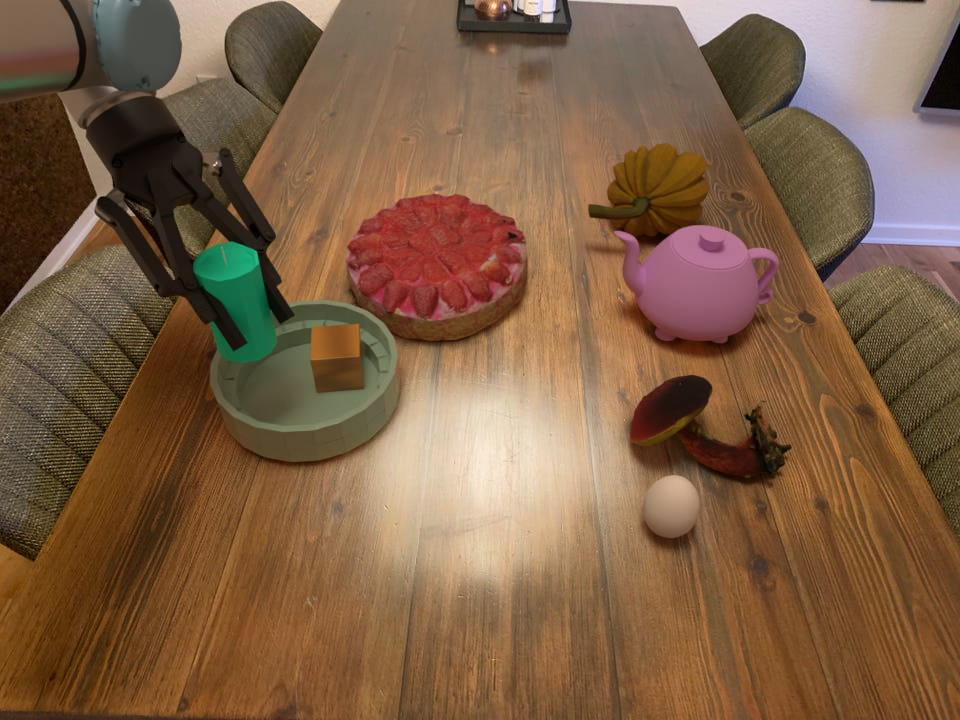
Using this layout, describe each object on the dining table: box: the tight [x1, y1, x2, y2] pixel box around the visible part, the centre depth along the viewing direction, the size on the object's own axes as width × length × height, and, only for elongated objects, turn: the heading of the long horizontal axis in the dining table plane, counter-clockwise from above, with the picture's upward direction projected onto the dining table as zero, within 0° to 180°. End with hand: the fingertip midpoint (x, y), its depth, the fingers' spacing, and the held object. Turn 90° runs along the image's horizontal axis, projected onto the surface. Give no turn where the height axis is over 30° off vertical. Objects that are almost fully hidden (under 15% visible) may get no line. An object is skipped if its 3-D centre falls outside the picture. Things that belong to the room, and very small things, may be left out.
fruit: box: [587, 142, 710, 238], centre depth 105 cm, size 14×16×20 cm
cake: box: [345, 192, 529, 342], centre depth 97 cm, size 25×25×8 cm
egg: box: [641, 474, 701, 539], centre depth 70 cm, size 5×5×8 cm
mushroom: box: [629, 374, 792, 480], centre depth 78 cm, size 12×12×15 cm
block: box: [310, 324, 364, 393], centre depth 83 cm, size 6×6×6 cm
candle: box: [192, 241, 277, 363], centre depth 69 cm, size 6×6×12 cm
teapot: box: [613, 224, 780, 344], centre depth 91 cm, size 22×16×14 cm
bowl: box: [209, 299, 402, 463], centre depth 82 cm, size 21×21×6 cm
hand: (264, 332), depth 68 cm, fingers closed on candle, 5 cm apart
